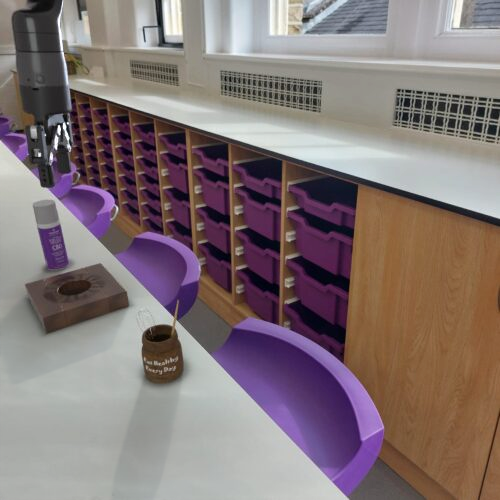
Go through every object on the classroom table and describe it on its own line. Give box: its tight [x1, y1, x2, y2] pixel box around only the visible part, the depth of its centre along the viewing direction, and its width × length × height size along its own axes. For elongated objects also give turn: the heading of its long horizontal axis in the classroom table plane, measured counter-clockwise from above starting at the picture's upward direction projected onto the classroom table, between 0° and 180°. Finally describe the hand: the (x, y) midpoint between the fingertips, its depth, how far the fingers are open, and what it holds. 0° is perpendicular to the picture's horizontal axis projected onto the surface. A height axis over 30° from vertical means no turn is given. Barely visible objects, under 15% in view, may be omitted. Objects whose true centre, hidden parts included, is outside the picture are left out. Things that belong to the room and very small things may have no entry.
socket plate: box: [24, 262, 130, 335], centre depth 93 cm, size 15×15×4 cm
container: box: [32, 199, 70, 272], centre depth 105 cm, size 5×5×15 cm
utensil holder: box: [135, 299, 185, 384], centre depth 71 cm, size 6×6×12 cm
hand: (57, 179), depth 85 cm, fingers open, 8 cm apart
